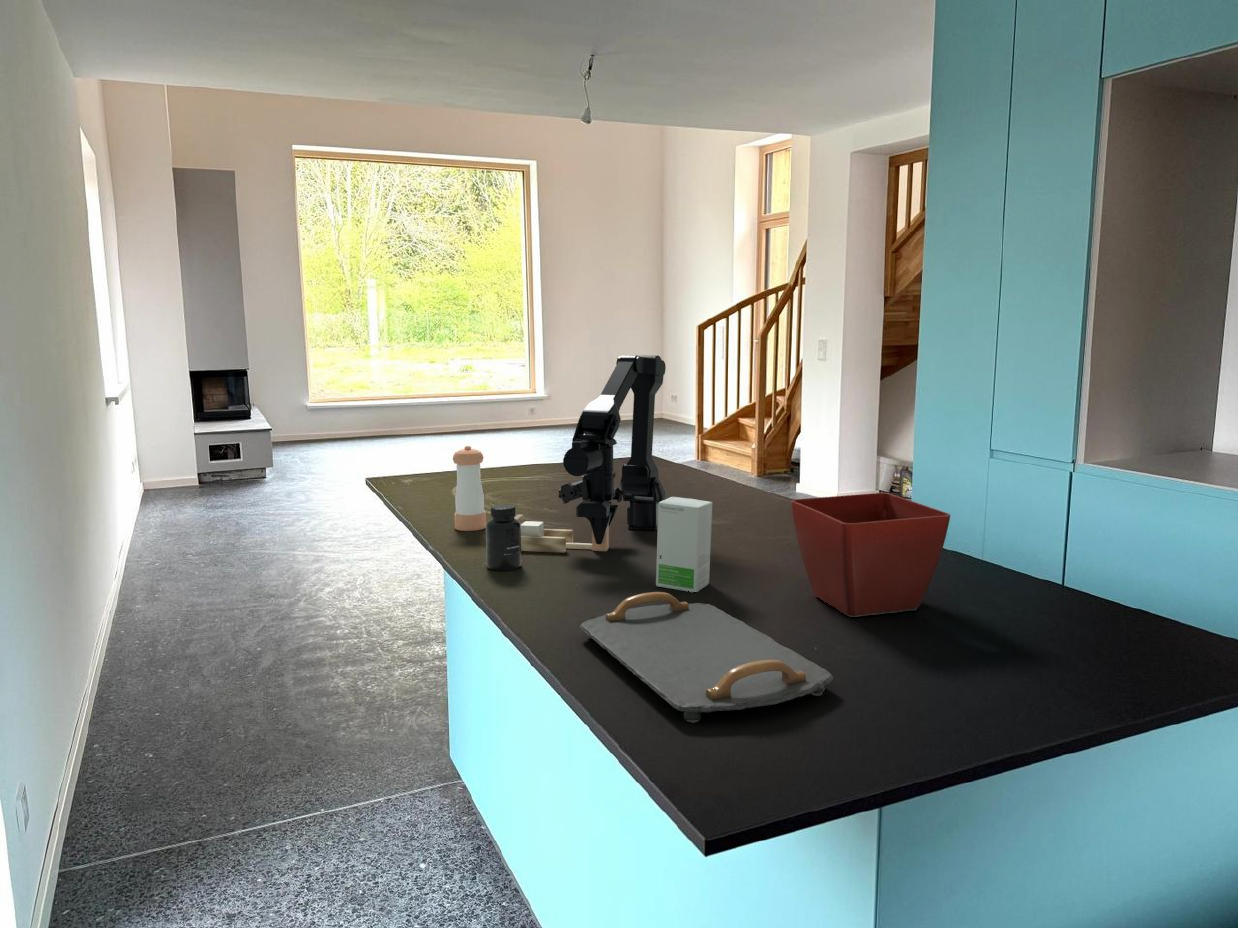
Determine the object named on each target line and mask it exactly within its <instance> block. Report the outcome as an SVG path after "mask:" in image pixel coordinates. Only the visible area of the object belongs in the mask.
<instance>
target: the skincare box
mask: <svg viewBox="0 0 1238 928" xmlns="http://www.w3.org/2000/svg"><path fill="white" fill-rule="evenodd" d="M712 520H713V501H708V500H702V499H701V500H700V499H694V498H688V497H687V498H686V497H678V496H670V497H668V498H665V499H664V500H663V501H661V502H659V503H658V527H657V534H656V535H657V537H656V563H655V564H656V567H655V570H656V571H655V572H656V573H655V586H656V587H660V588H666V589H673V590H676V591H684V592H688V591H689V593H693V592H697V593H699V591H701V590H702V589H703V588H706V587H707V586H709V585H710V567H711V542H712Z"/></svg>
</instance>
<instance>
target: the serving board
mask: <svg viewBox="0 0 1238 928" xmlns="http://www.w3.org/2000/svg"><path fill="white" fill-rule="evenodd" d="M657 601H658V602H659V601H661V602H663V601H664V602H668V603H666V604H657V605H645V606H639V607H633V606H636V605H639V604H643V603H649V602H657ZM579 629H580V630H581V631H582V632H584V633H585V634H586V635H587V639H588V640H590V639H593V640H592V641H595V643H597V644H598V645H599V646H600V647H601V648H602V649H604V650H605V651H606V652H607V653H608V654H610V656H612V657H613V658H614V659H615V660H617V661H619V663H620V665H623V666H624V667H625V668H626V669H627V670H629V672H631V673H633V676H635V677H637V678H638V679H639V680H640V681H641V682H643V684H646V685H647V686H648V687H649V688H650V689H651V690H652V691H654V692H655V693H656V694H657V695H658V696H660V698H662V699H663V700H664V701H666V703H668V705H670V706H671V707H672V708H673V709H676V710H677V711H679V712H683V720H684V719H686V720H699V719H701V720H702V713H712V712H726V711H727V712H728V711H740V710H745V709H752V708H757V707H758V708H759V707H767V706H772V705H773V706H774V705H777V704H781V703H784V702H787V701H792V700H794V699H797V698H801V697H803V696H806V695H810V693H812V692H814V693H819V692H823V691H824V690H825V686H827V685H829V684H830V683H831V682H832V681H833V680H834V677H833V675H832V674H831V672H829V671H828V670H827V669H826V668H823V667H821V666H820V665H818V664H816V663H815V662H814V661H811V660H809V659H807V658H806V657H804V656H803V655H801V654H799V653H798V652H796V651H794V650H793V649H790V648H788V647H786V646H784V645H782V644H780V643H778V642H777V641H775V640H774V639H773V638H772V637H770V636H768V635H767V634H766V633H763V632H761V631H759V630H757V629H756V628H753V627H751V626H749V624H746V623H745V622H744V621H742V620H740V619H738V618H736V617H733V616H732V615H730V614H728V613H726V612H725V611H724V610H722V609H719V608H718V607H716V606H715V605H712V604H710V603H702V602H700V603H699V602H695V603H688V602H687V601H679V600H678V598H676V597H674V596H673V595H672V594H671V593H669V592H665V591H653V592H643V593H639V594H635V595H632V596H629V597H626V598H624V600H622V601H621V602H620V603H619V604H618V606H617V607H616V608H615V609H614V610H613V611H612V612H609V613H605V614H603V615H600V616H597V617H594V618H592V619H587V620H585V621H584V622H582V623H580V625H579Z"/></svg>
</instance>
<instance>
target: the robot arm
mask: <svg viewBox="0 0 1238 928" xmlns="http://www.w3.org/2000/svg"><path fill="white" fill-rule="evenodd" d="M615 364H616V366H615V367H614V370H613V371H612V373H611V374H610V376H609V377H608V380H607V381H606V383H605V385H604V388H603V389H602V391H601V393H600V395H599V396H598V397H597V398H596V399H593V400H592V401H590V402H588V404H587V405H586V406H585V407H584V409H583V411H582V412H581V414H580V415H579V418H578V420H577V424H576V427H575V430H574V432H573V437H572V442H571V448H570V449H568V450H566V452H565V454H564V456H563V458H562V463H563V467H564V469H565V471H566V472H567V473H568V474H569V475H571V476H573V477H581V476H582V480H581V479H580V480H578V481H574V482H572V483H571V482H570V481H569V482H566V483H563V484H561V485H560V488H559V489H558V490H557V491H558V498H559V499H561V501H562V504H563V505H565V504H566V505H567V504H568V503H570V502H572V501H574V500H577V499H580V498H582V501H581V502H580V503H579V504H578V505H577V506H576V508H575V512H576V513H575V517H577V518H585V519H587V520H588V522H589V523H590V526H591V531H592V530H593V534H594V538H595V541H596V544H602V541H603V538H604V536H605V533H606V530H607V527H608V525H609V529H610V528H611V525H612V523H613V520H614V517H615V515H616V512H617V510H618V508H619V505H618V504H612V500H613V501H614V500H615V501H617V503H620V502H622V500H623V502H629V505H628V507H627V509H626V516H627V517H626V519H627V520H626V525H627V530H639V531H641V530H642V531H657V530H658V503H659V502H661V501H663V500H665V499H666V491H665V488H664V486H663V485H662V483H661V481H660V479H659V469H658V467H657V464H656V463H655V462H654V459H653V445H654V444H653V443H654V421H655V407H656V406H655V404H656V403H655V402H656V395H657V394H658V391H659V390H660V389H661V386H663V383H664V376H665V373H666V362H665V361H664V360H663V359H662V357H661V356H660V355H657V354H656V355H652V354H651V355H650V354H649V355H647V354H646V355H645V354H644V355H643V354H640V355H638V354H630V355H628V354H623V355H620V356H618V357H617V359H616V363H615ZM630 390H631V391H632V393H633V402H632V403H633V405H632V406H633V407H632V409H633V410H632V423H631V424H632V426H631V427H632V428H631V429H632V430H631V444H630V445H631V447H630V449H631V450H630V457H629V459H628V461H627V462H626V464H623V465H622V467H621V478H620V488H619V487H618V486H617V487H616V486H615V485H614V484H615V482H614V480H615V478H616V471H614V446H615V445H617V443H618V442H617V440H616V439H615V436H616V433H617V432H618V430H619V428H620V423H621V421H622V420H621V419H622V418H621V415H620V410H621V408H622V405H623V404H624V401H625V399H626V397H627V396H628V394H629V392H630Z"/></svg>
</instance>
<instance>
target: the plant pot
mask: <svg viewBox="0 0 1238 928" xmlns="http://www.w3.org/2000/svg"><path fill="white" fill-rule="evenodd" d="M790 503H791V511H792V512H791V513H792V518H793V523H794V529H795V533H796V534H795V535H796V539H797V544H798V547H799V552H800V555H801V558H802V563H803V566H804V569H805V572H806V575H807V577H808V582H809V584H810V587H811V590H812V592H813V595H814V597H815V596H816V597H815V598H817V597H818V598H820V599H821V600H823V601H825V602H826V603H828V604H829V605H828V604H827V605H828V606H830V605H831V606H833V607H835V608H836V609H838V610H840V611H841V612H843V613H845V614H847V615H850V616H851V615H852V616H857V615H865V614H872V613H881V612H890V611H899V610H906V609H914V608H918V607H919V608H920V606H921V604H922V602H923V600H924V598H925V596H926V594H927V591H928V589H929V588H930V587H929V586H930V584H931V582H932V579H933V577H934V575H935V573H936V572H935V571H936V569H937V567H938V565H939V561H940V558H941V555H942V552H943V548H944V544H945V540H946V537H947V533H948V530H949V524H950V519H951V514H950V513H947V512H946V511H943V510H940V509H936V508H934V507H930V506H928V505H925V504H921V503H919V502H917V501H913V500H911V499H907V498H904V497H901V496H899V495H895V494H892V493H889V492H875V493H874V492H873V493H862V494H849V495H848V494H847V495H835V496H834V495H833V496H822V497H821V496H819V497H809V498H798V499H797V498H796V499H791V501H790ZM818 598H817V599H818ZM820 599H819V600H820ZM821 600H820V601H821ZM823 601H822V602H823ZM825 602H824V603H825ZM826 603H825V604H826ZM831 606H830V607H831ZM833 607H832V608H833ZM919 608H918V609H919ZM836 609H835V610H836ZM841 612H840V613H841Z"/></svg>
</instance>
